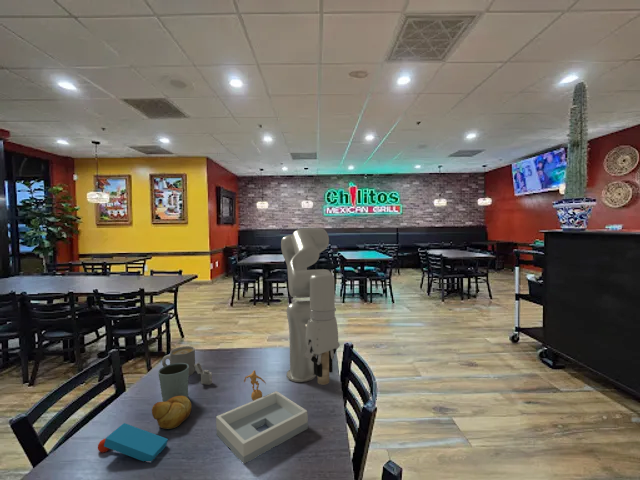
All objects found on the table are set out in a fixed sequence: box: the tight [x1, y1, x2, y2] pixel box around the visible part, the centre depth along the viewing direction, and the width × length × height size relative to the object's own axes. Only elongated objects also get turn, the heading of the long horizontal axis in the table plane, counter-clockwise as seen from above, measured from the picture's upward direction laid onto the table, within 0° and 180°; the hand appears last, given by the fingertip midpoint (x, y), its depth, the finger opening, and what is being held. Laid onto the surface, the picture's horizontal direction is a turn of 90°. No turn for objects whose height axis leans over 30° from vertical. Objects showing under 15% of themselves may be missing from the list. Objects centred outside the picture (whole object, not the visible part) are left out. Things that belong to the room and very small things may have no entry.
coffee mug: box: [161, 345, 196, 376], centre depth 139 cm, size 13×10×10 cm
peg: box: [317, 351, 330, 386], centre depth 96 cm, size 4×4×10 cm
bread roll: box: [151, 396, 192, 430], centre depth 104 cm, size 13×10×8 cm
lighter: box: [194, 362, 213, 386], centre depth 129 cm, size 7×2×8 cm, turn 76°
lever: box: [97, 422, 169, 462], centre depth 89 cm, size 7×7×18 cm
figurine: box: [243, 370, 267, 401], centre depth 113 cm, size 8×6×12 cm
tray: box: [215, 390, 309, 464], centre depth 97 cm, size 22×17×6 cm
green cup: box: [157, 363, 189, 402], centre depth 116 cm, size 10×10×12 cm
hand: (323, 372), depth 97 cm, fingers closed on peg, 3 cm apart
